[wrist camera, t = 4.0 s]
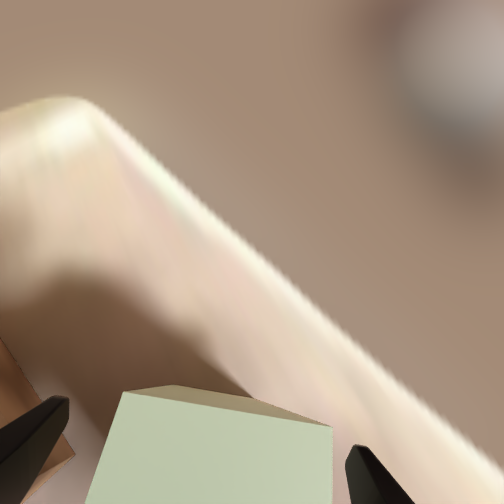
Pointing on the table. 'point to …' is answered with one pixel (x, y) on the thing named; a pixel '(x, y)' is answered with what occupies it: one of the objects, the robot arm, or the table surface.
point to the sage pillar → (211, 451)
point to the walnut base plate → (19, 402)
